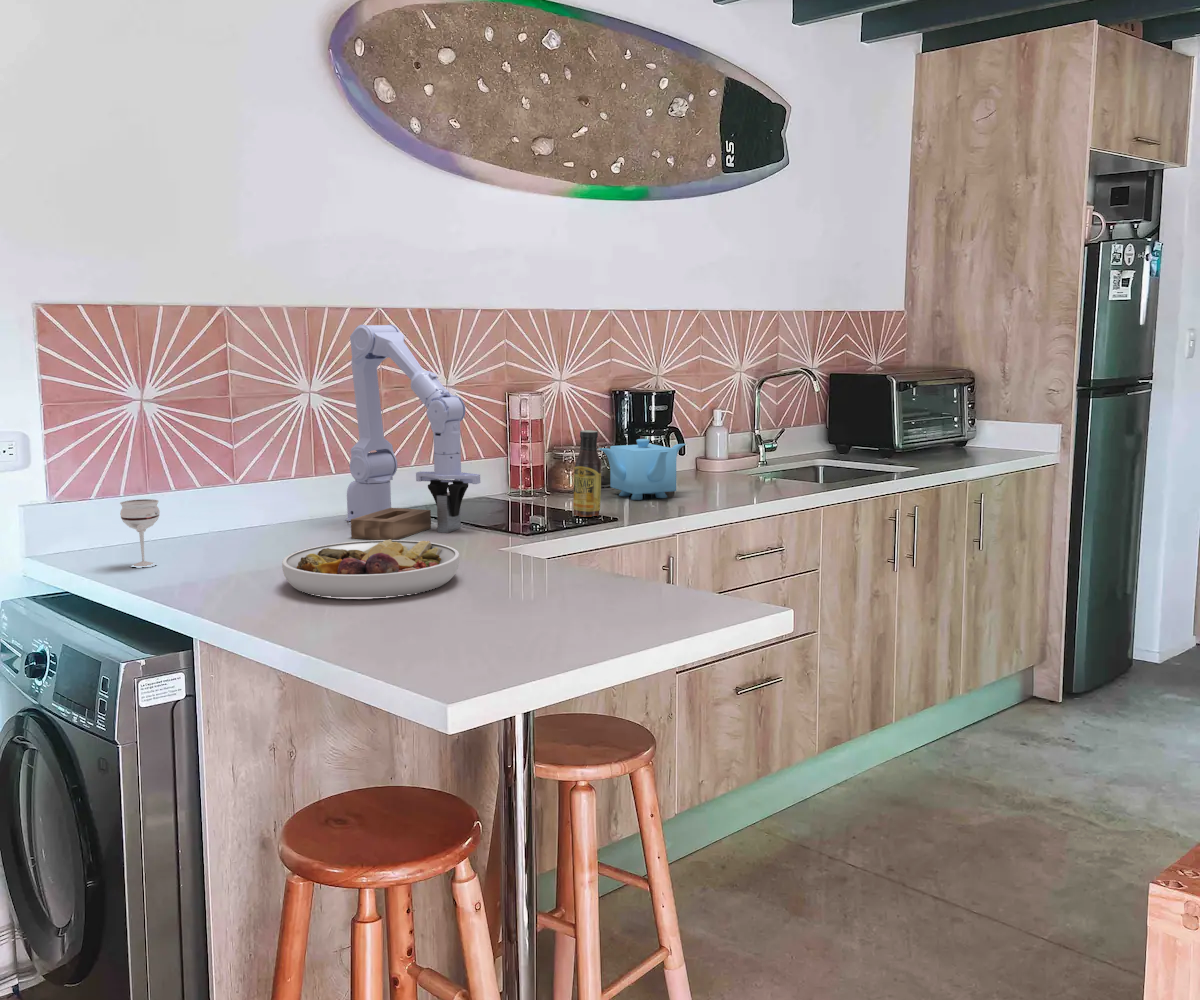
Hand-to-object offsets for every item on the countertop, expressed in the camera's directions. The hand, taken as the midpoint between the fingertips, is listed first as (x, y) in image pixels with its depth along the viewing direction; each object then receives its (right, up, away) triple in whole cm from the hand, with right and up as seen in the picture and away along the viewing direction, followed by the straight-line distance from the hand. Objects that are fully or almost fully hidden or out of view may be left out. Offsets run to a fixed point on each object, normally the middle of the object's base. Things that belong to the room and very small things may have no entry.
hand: (448, 515), depth 249 cm
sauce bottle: (+30, -1, +17) cm, 34 cm away
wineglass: (-53, -9, -34) cm, 63 cm away
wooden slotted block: (-12, -4, -3) cm, 13 cm away
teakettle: (+44, +4, +46) cm, 64 cm away
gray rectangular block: (0, -3, 0) cm, 3 cm away
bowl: (-7, -11, -49) cm, 50 cm away
